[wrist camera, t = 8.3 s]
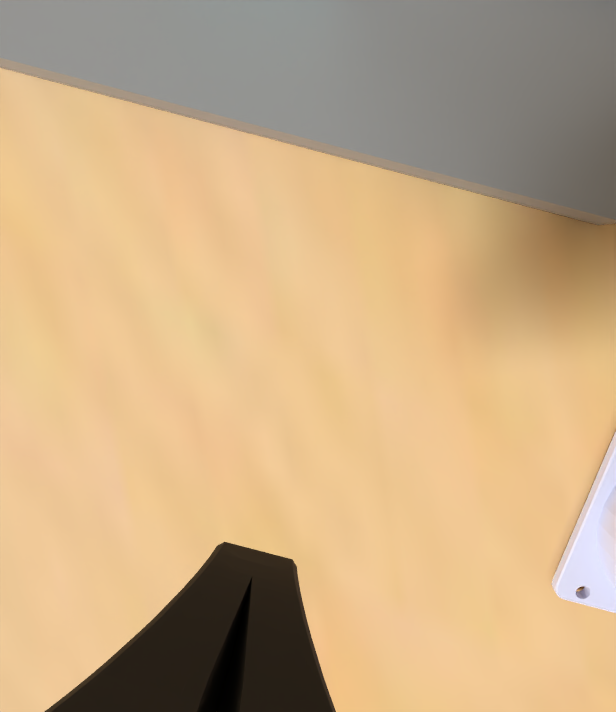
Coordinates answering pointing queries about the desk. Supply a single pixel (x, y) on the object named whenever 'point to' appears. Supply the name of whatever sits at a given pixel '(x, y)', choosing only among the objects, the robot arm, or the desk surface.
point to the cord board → (363, 81)
